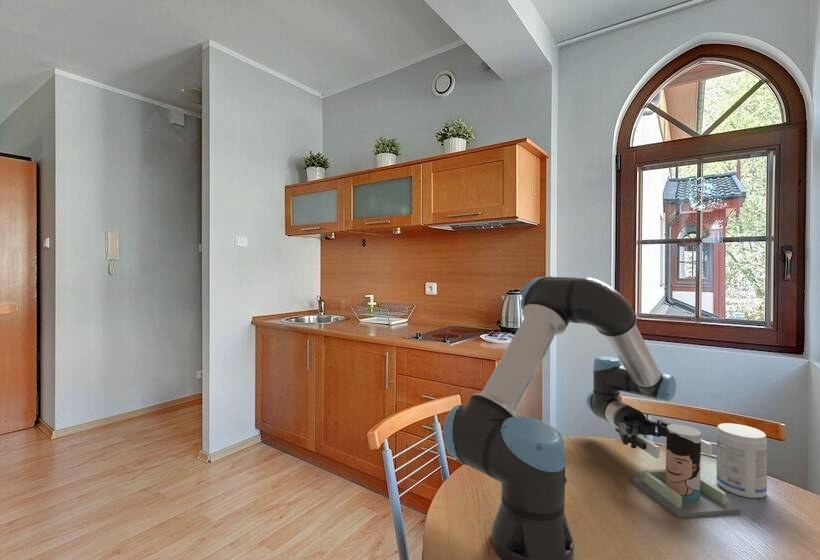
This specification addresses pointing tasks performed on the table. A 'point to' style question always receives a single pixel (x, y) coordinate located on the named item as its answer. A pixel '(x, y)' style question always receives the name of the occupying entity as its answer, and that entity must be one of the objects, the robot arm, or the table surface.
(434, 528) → the table surface
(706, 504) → the holder
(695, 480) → the white printed cylinder
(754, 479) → the supplement tub
